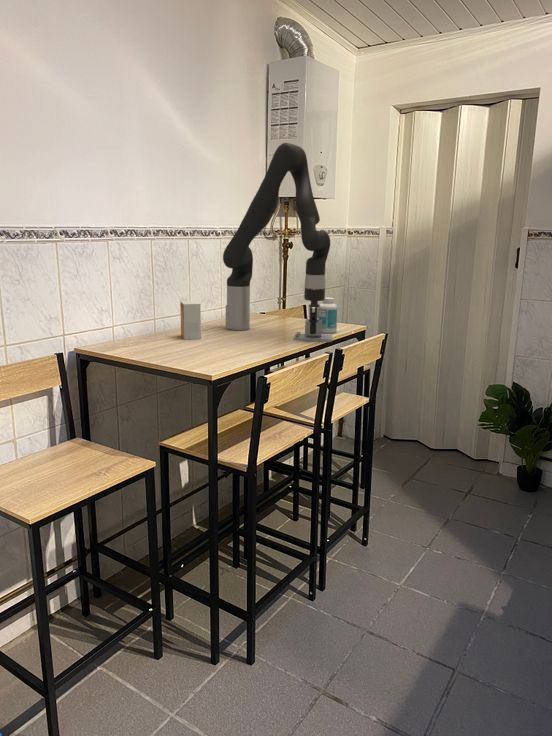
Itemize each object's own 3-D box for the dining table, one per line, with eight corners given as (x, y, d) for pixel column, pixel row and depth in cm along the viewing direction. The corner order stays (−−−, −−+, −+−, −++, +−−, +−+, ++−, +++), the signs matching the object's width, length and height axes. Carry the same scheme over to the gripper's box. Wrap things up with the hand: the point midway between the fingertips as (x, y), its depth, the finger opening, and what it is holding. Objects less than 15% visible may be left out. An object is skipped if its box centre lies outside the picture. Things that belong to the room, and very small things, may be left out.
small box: (180, 335, 217) (180, 300, 213) (197, 335, 218) (197, 300, 215) (183, 339, 209) (183, 303, 206) (201, 339, 211) (200, 303, 208)
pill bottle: (336, 330, 233) (337, 297, 230) (336, 333, 226) (337, 299, 223) (317, 329, 234) (319, 296, 231) (317, 333, 227) (318, 298, 224)
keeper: (293, 340, 211) (293, 327, 210) (295, 336, 220) (295, 323, 219) (331, 342, 210) (332, 328, 209) (332, 337, 219) (332, 324, 218)
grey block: (304, 335, 212) (305, 321, 211) (305, 332, 218) (306, 319, 217) (321, 335, 212) (321, 322, 210) (321, 332, 217) (322, 319, 216)
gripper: (305, 284, 218) (304, 328, 222) (303, 288, 204) (301, 335, 208) (325, 285, 217) (323, 329, 221) (324, 289, 203) (322, 336, 207)
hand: (313, 332), depth 215 cm, fingers closed on grey block, 6 cm apart
